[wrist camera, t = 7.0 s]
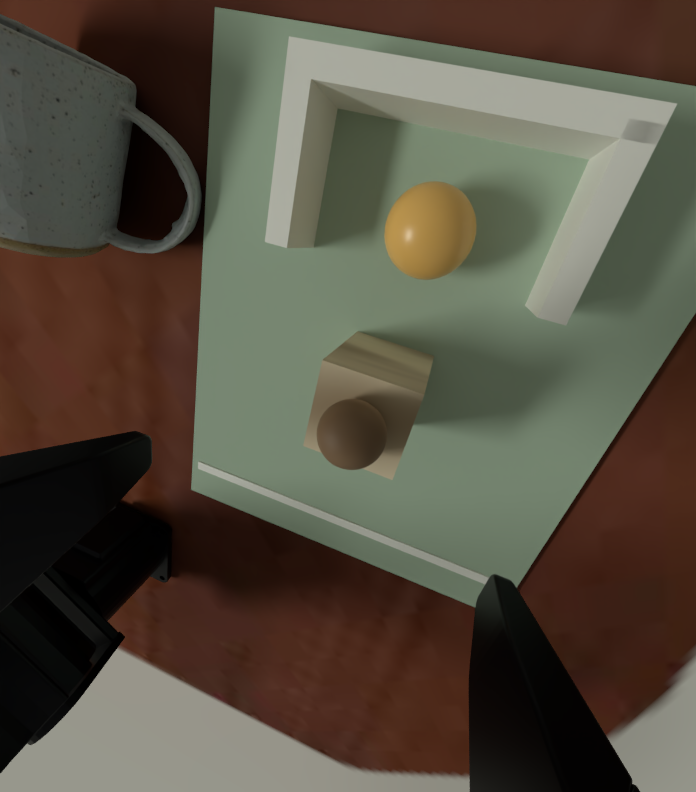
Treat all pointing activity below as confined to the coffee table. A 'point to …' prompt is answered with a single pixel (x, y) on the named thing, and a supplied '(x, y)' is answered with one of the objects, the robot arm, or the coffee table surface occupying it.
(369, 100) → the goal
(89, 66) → the ceramic mug
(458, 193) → the ball
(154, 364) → the coffee table surface
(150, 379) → the coffee table surface
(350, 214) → the pitch mat
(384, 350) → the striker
